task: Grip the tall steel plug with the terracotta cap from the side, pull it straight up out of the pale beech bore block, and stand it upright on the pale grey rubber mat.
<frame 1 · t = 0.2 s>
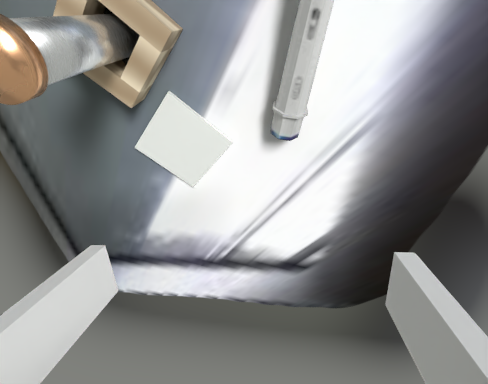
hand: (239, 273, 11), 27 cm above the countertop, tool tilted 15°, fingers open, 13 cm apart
bore block: (124, 35, 30), on the countertop
toothbrush head: (307, 22, 28), on the countertop
steel plug: (124, 35, 30), resting in bore block
rubber mat: (183, 143, 38), on the countertop
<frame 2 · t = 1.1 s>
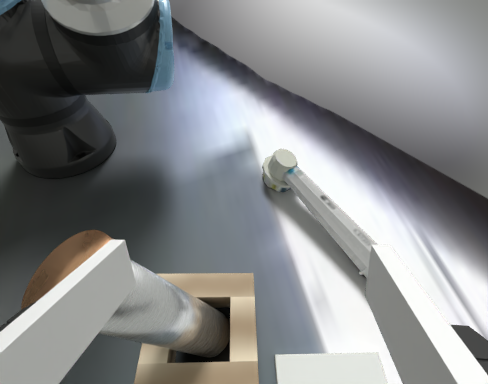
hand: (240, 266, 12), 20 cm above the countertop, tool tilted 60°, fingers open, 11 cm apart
bore block: (204, 335, 27), on the countertop
toothbrush head: (317, 222, 38), on the countertop
steel plug: (211, 332, 26), point 1 cm above the countertop, tilted 22°, touching bore block, gripper
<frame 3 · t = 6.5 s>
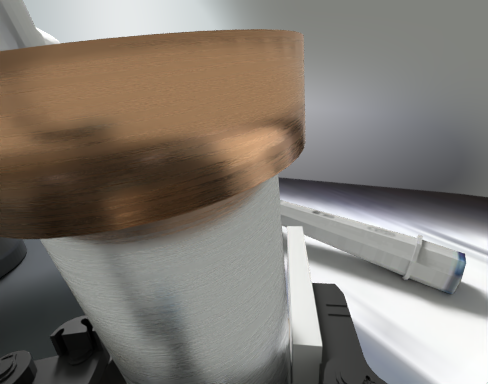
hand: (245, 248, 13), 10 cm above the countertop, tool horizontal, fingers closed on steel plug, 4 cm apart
toothbrush head: (321, 252, 30), on the countertop
when the fingers open (12 cm above the countertop, at t = 12.7 s): steel plug drops 2 cm, resting on rubber mat.
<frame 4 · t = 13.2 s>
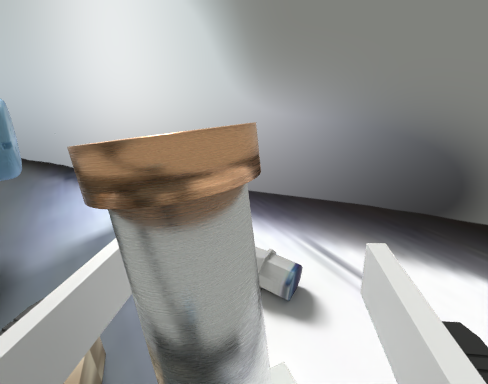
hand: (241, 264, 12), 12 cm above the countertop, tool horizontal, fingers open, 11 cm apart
toothbrush head: (206, 264, 33), on the countertop
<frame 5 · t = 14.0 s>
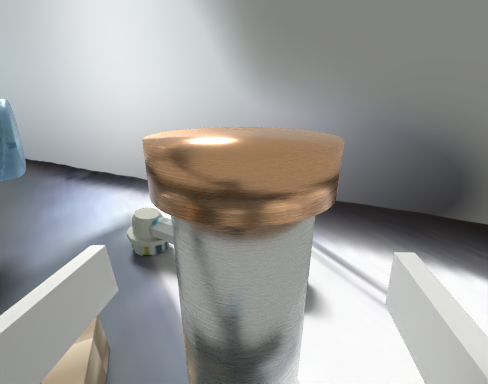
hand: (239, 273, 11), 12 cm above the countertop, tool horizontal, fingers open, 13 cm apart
toothbrush head: (205, 264, 33), on the countertop
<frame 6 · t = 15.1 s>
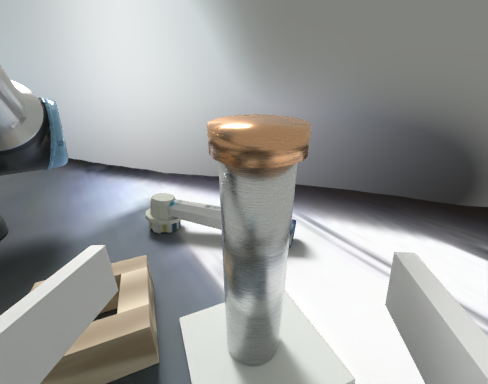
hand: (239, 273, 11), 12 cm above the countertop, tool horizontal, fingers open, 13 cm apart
bore block: (97, 334, 23), on the countertop
toothbrush head: (216, 235, 40), on the countertop
steel plug: (252, 338, 21), point 1 cm above the countertop, tilted 7°, touching rubber mat
rubber mat: (254, 349, 21), on the countertop
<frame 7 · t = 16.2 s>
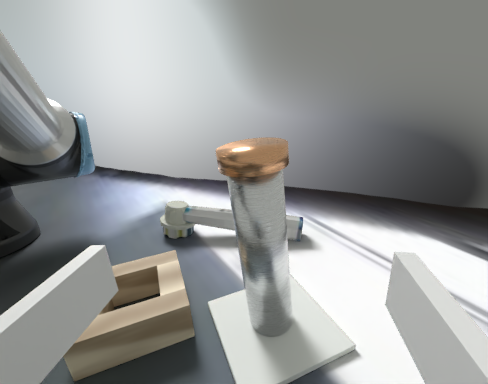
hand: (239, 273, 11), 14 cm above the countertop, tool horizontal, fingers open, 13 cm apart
bore block: (139, 315, 28), on the countertop
toothbrush head: (229, 236, 44), on the countertop
steel plug: (271, 317, 26), point 1 cm above the countertop, touching rubber mat
rubber mat: (273, 325, 26), on the countertop
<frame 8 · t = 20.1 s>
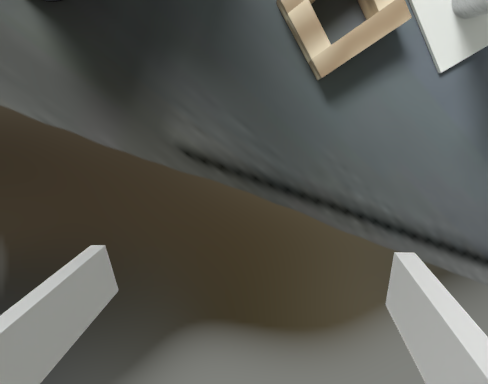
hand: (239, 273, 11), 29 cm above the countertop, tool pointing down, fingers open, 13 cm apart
bore block: (335, 15, 31), on the countertop
rubber mat: (470, 0, 29), on the countertop
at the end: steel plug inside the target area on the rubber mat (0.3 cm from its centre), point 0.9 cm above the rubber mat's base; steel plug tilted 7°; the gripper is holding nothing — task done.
